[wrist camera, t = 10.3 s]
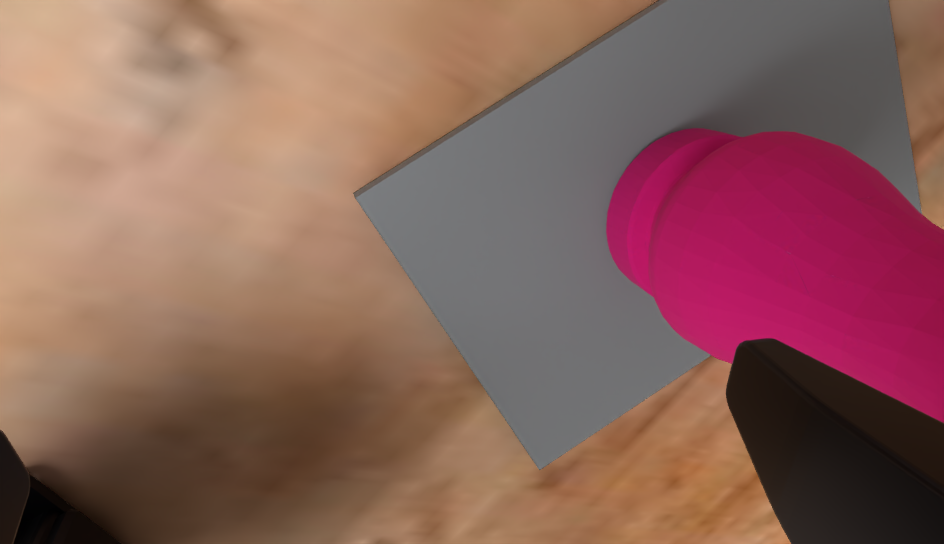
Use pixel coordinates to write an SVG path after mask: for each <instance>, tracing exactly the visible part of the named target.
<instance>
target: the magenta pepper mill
mask: <svg viewBox="0 0 944 544" xmlns="http://www.w3.org/2000/svg"><path fill="white" fill-rule="evenodd" d="M606 234H607V242H608V246H609V250H610V253H611V255H612V258H613V260H614V262H615V263H616V265H617V267H618V268H619V270H620V271H621V272H622V273H623V274H624V275H625V276H626V277H627V278H628V279H629V280H630V281H632V282H633V283H635V284H636V285H637V286H639V287H640V288H641V289H643V290H644V291H646V292H647V293H648V294H650V295H651V296H652V297H654V299H655V301H656V304H657V306H658V308H659V310H660V312H661V314H662V316H663V317H664V319H665V320H666V321H667V322H668V323H669V325H670V326H671V327H672V328H673V330H675V331H676V332H677V333H678V334H679V335H680V336H681V337H682V338H683V339H685V340H687V341H688V342H690V343H692V344H693V345H695V346H697V347H698V348H700V349H702V350H703V351H705V352H707V353H708V354H710V355H712V356H713V357H715V358H717V359H720V360H722V361H725V362H728V363H731V364H732V363H733V359H734V355H735V351H736V348H737V346H738V345H739V344H740V343H741V342H743V341H746V340H754V339H763V338H773V339H776V340H778V341H780V342H782V343H784V344H786V345H788V346H790V347H792V348H794V349H796V350H798V351H800V352H802V353H804V354H806V355H808V356H810V357H812V358H814V359H816V360H818V361H820V362H823V363H825V364H827V365H829V366H831V367H833V368H835V369H837V370H839V371H841V372H843V373H845V374H847V375H849V376H851V377H853V378H855V379H857V380H859V381H861V382H863V383H865V384H867V385H869V386H871V387H873V388H875V389H877V390H879V391H881V392H883V393H885V394H887V395H889V396H891V397H893V398H895V399H897V400H899V401H901V402H903V403H905V404H907V405H909V406H911V407H913V408H915V409H917V410H919V411H921V412H923V413H925V414H927V415H929V416H931V417H933V418H935V419H937V420H939V421H941V422H943V423H944V230H943V229H941V228H940V227H938V226H936V225H935V224H933V223H932V222H930V221H929V220H928V219H927V218H926V217H924V216H923V215H922V214H921V213H920V212H919V211H918V210H917V209H916V208H915V207H914V206H913V205H912V204H911V203H910V202H909V201H908V200H907V199H906V198H905V197H904V195H903V194H902V193H901V192H900V191H899V190H898V189H897V188H896V187H895V186H894V185H893V184H892V183H891V182H890V181H889V180H888V179H887V178H885V177H884V176H883V175H882V174H881V173H880V172H879V171H878V170H877V169H875V168H874V167H872V166H871V165H869V164H868V163H866V162H865V161H863V160H862V159H860V158H859V157H857V156H856V155H854V154H853V153H851V152H849V151H848V150H846V149H844V148H843V147H841V146H838V145H835V144H832V143H829V142H826V141H823V140H820V139H817V138H814V137H811V136H808V135H804V134H801V133H797V132H788V131H774V132H760V133H757V134H753V135H749V136H745V137H739V136H736V135H731V134H727V133H723V132H719V131H715V130H709V129H704V128H691V129H684V130H681V131H677V132H673V133H671V134H669V135H666V136H664V137H662V138H660V139H658V140H657V141H655V142H653V143H652V144H651V145H649V146H648V147H647V148H645V149H644V150H643V151H642V152H641V153H640V154H639V155H638V156H637V157H636V158H635V159H634V160H633V161H632V162H631V163H630V164H629V166H628V167H627V168H626V170H625V171H624V173H623V175H622V176H621V178H620V180H619V181H618V183H617V185H616V187H615V189H614V191H613V194H612V197H611V201H610V204H609V208H608V212H607V223H606Z"/></svg>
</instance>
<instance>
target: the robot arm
mask: <svg viewBox="0 0 944 544" xmlns="http://www.w3.org/2000/svg"><path fill="white" fill-rule="evenodd" d="M726 398H727V403H728V406H729V409H730V411H731V414H732V416H733V418H734V421H735V423H736V425H737V428H738V430H739V432H740V435H741V437H742V439H743V442H744V444H745V446H746V449H747V451H748V453H749V456H750V458H751V460H752V463H753V465H754V467H755V470H756V472H757V474H758V477H759V479H760V481H761V484H762V486H763V488H764V491H765V493H766V495H767V497H768V500H769V502H770V504H771V506H772V508H773V510H774V512H775V514H776V516H777V518H778V520H779V522H780V524H781V526H782V528H783V530H784V531H785V533H786V535H787V537H788V539H789V540H790V542H791V544H944V423H943V422H941V421H939V420H937V419H935V418H933V417H931V416H929V415H927V414H925V413H923V412H921V411H919V410H917V409H915V408H913V407H911V406H909V405H907V404H905V403H903V402H901V401H899V400H897V399H895V398H893V397H891V396H889V395H887V394H885V393H883V392H881V391H879V390H877V389H875V388H873V387H871V386H869V385H867V384H865V383H863V382H861V381H859V380H857V379H855V378H853V377H851V376H849V375H847V374H845V373H843V372H841V371H839V370H837V369H835V368H833V367H831V366H829V365H827V364H825V363H823V362H820V361H818V360H816V359H814V358H812V357H810V356H808V355H806V354H804V353H802V352H800V351H798V350H796V349H794V348H792V347H790V346H788V345H786V344H784V343H782V342H780V341H778V340H776V339H773V338H763V339H754V340H746V341H743V342H741V343H740V344H739V345H738V346H737V348H736V351H735V355H734V359H733V363H732V367H731V371H730V375H729V379H728V383H727V387H726ZM0 544H121V543H120V542H119V541H117V540H116V539H115V538H113V537H112V536H111V535H110V534H108V533H107V532H106V531H104V530H103V529H102V528H100V527H99V526H98V525H96V524H95V523H94V522H92V521H91V520H90V519H89V518H87V517H86V516H85V515H83V514H82V513H81V512H79V511H77V510H76V509H75V508H74V507H72V506H71V505H70V504H68V503H67V502H66V501H64V500H63V499H62V498H60V497H59V496H58V495H56V494H55V493H54V492H53V491H51V490H50V489H49V488H47V487H46V486H45V485H43V484H42V483H41V482H39V481H38V480H37V479H35V478H34V477H32V476H30V475H29V473H28V470H27V469H26V467H25V465H24V464H23V462H22V461H21V459H20V457H19V456H18V454H17V453H16V451H15V449H14V448H13V446H12V445H11V443H10V442H9V440H8V438H7V437H6V435H5V434H4V433H3V431H2V430H0Z"/></svg>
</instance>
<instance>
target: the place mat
mask: <svg viewBox="0 0 944 544" xmlns="http://www.w3.org/2000/svg"><path fill="white" fill-rule="evenodd" d="M691 128H704V129H709V130H715V131H719V132H723V133H727V134H731V135H736V136H739V137H745V136H749V135H753V134H757V133H760V132H774V131H788V132H797V133H801V134H804V135H808V136H811V137H814V138H817V139H820V140H823V141H826V142H829V143H832V144H835V145H838V146H841V147H843V148H844V149H846V150H848V151H849V152H851V153H853V154H854V155H856V156H857V157H859V158H860V159H862V160H863V161H865V162H866V163H868V164H869V165H871V166H872V167H874V168H875V169H877V170H878V171H879V172H880V173H881V174H882V175H883V176H884V177H885V178H887V179H888V180H889V181H890V182H891V183H892V184H893V185H894V186H895V187H896V188H897V189H898V190H899V191H900V192H901V193H902V194H903V195H904V197H905V198H906V199H907V200H908V201H909V202H910V203H911V204H912V205H913V206H914V207H915V208H916V209H917V210H918V211H919V212H920V213H921V214H922V212H921V205H920V199H919V193H918V186H917V180H916V173H915V167H914V161H913V154H912V148H911V142H910V135H909V129H908V122H907V116H906V110H905V103H904V97H903V90H902V84H901V78H900V71H899V65H898V58H897V52H896V46H895V39H894V33H893V26H892V20H891V14H890V7H889V1H888V0H659V1H657V2H656V3H654V4H653V5H651V6H649V7H648V8H646V9H645V10H643V11H641V12H640V13H638V14H637V15H635V16H634V17H632V18H630V19H629V20H627V21H626V22H624V23H622V24H621V25H619V26H618V27H616V28H615V29H613V30H611V31H610V32H608V33H607V34H605V35H603V36H602V37H600V38H599V39H597V40H596V41H594V42H592V43H591V44H589V45H588V46H586V47H584V48H583V49H581V50H580V51H578V52H576V53H575V54H573V55H572V56H570V57H569V58H567V59H565V60H564V61H562V62H561V63H559V64H557V65H556V66H554V67H553V68H551V69H550V70H548V71H546V72H545V73H543V74H542V75H540V76H538V77H537V78H535V79H534V80H532V81H531V82H529V83H527V84H526V85H524V86H523V87H521V88H519V89H518V90H516V91H515V92H513V93H512V94H510V95H508V96H507V97H505V98H504V99H502V100H500V101H499V102H497V103H496V104H494V105H492V106H491V107H489V108H488V109H486V110H485V111H483V112H481V113H480V114H478V115H477V116H475V117H473V118H472V119H470V120H469V121H467V122H466V123H464V124H462V125H461V126H459V127H458V128H456V129H454V130H453V131H451V132H450V133H448V134H447V135H445V136H443V137H442V138H440V139H439V140H437V141H435V142H434V143H432V144H431V145H429V146H428V147H426V148H424V149H423V150H421V151H420V152H418V153H416V154H415V155H413V156H412V157H410V158H408V159H407V160H405V161H404V162H402V163H401V164H399V165H397V166H396V167H394V168H393V169H391V170H389V171H388V172H386V173H385V174H383V175H382V176H380V177H378V178H377V179H375V180H374V181H372V182H370V183H369V184H367V185H366V186H364V187H363V188H361V189H359V190H358V191H356V192H355V193H353V194H354V196H355V198H356V200H357V201H358V203H359V204H360V206H361V207H362V209H363V210H364V212H365V213H366V215H367V216H368V218H369V219H370V220H371V222H372V223H373V225H374V226H375V228H376V229H377V231H378V232H379V234H380V235H381V237H382V238H383V240H384V241H385V243H386V244H387V246H388V247H389V249H390V250H391V252H392V253H393V254H394V256H395V257H396V259H397V260H398V262H399V263H400V265H401V266H402V268H403V269H404V271H405V272H406V274H407V275H408V277H409V278H410V280H411V281H412V283H413V284H414V285H415V287H416V288H417V290H418V291H419V293H420V294H421V296H422V297H423V299H424V300H425V302H426V303H427V305H428V306H429V308H430V309H431V311H432V312H433V314H434V315H435V317H436V318H437V319H438V321H439V322H440V324H441V325H442V327H443V328H444V330H445V331H446V333H447V334H448V336H449V337H450V339H451V340H452V342H453V343H454V345H455V346H456V348H457V349H458V350H459V352H460V353H461V355H462V356H463V358H464V359H465V361H466V362H467V364H468V365H469V367H470V368H471V370H472V371H473V373H474V374H475V376H476V377H477V379H478V380H479V382H480V383H481V384H482V386H483V387H484V389H485V390H486V392H487V393H488V395H489V396H490V398H491V399H492V401H493V402H494V404H495V405H496V407H497V408H498V410H499V411H500V413H501V414H502V416H503V417H504V418H505V420H506V421H507V423H508V424H509V426H510V427H511V429H512V430H513V432H514V433H515V435H516V436H517V438H518V439H519V441H520V442H521V444H522V445H523V447H524V448H525V449H526V451H527V452H528V454H529V455H530V457H531V458H532V460H533V461H534V463H535V464H536V466H537V467H538V469H539V470H541V469H542V468H544V467H545V466H547V465H548V464H550V463H551V462H553V461H554V460H556V459H557V458H559V457H560V456H562V455H563V454H565V453H566V452H568V451H569V450H570V449H572V448H573V447H575V446H576V445H578V444H579V443H581V442H582V441H584V440H585V439H587V438H588V437H590V436H591V435H593V434H594V433H596V432H597V431H599V430H600V429H602V428H603V427H605V426H606V425H608V424H609V423H611V422H612V421H614V420H615V419H617V418H618V417H620V416H621V415H623V414H624V413H626V412H627V411H629V410H630V409H632V408H633V407H635V406H636V405H638V404H639V403H641V402H642V401H644V400H645V399H647V398H648V397H650V396H651V395H653V394H654V393H656V392H657V391H659V390H660V389H662V388H663V387H665V386H666V385H668V384H669V383H671V382H672V381H674V380H675V379H677V378H678V377H680V376H681V375H683V374H684V373H685V372H687V371H688V370H690V369H691V368H693V367H694V366H696V365H697V364H699V363H700V362H702V361H703V360H705V359H706V358H708V357H709V356H711V355H710V354H708V353H707V352H705V351H703V350H702V349H700V348H698V347H697V346H695V345H693V344H692V343H690V342H688V341H687V340H685V339H683V338H682V337H681V336H680V335H679V334H678V333H677V332H676V331H675V330H673V328H672V327H671V326H670V325H669V323H668V322H667V321H666V320H665V319H664V317H663V316H662V314H661V312H660V310H659V308H658V306H657V304H656V301H655V299H654V297H652V296H651V295H650V294H648V293H647V292H646V291H644V290H643V289H641V288H640V287H639V286H637V285H636V284H635V283H633V282H632V281H630V280H629V279H628V278H627V277H626V276H625V275H624V274H623V273H622V272H621V271H620V270H619V268H618V267H617V265H616V263H615V262H614V260H613V258H612V255H611V253H610V250H609V246H608V242H607V234H606V223H607V212H608V208H609V204H610V201H611V197H612V194H613V191H614V189H615V187H616V185H617V183H618V181H619V180H620V178H621V176H622V175H623V173H624V171H625V170H626V168H627V167H628V166H629V164H630V163H631V162H632V161H633V160H634V159H635V158H636V157H637V156H638V155H639V154H640V153H641V152H642V151H643V150H644V149H645V148H647V147H648V146H649V145H651V144H652V143H653V142H655V141H657V140H658V139H660V138H662V137H664V136H666V135H669V134H671V133H673V132H677V131H681V130H684V129H691Z"/></svg>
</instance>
